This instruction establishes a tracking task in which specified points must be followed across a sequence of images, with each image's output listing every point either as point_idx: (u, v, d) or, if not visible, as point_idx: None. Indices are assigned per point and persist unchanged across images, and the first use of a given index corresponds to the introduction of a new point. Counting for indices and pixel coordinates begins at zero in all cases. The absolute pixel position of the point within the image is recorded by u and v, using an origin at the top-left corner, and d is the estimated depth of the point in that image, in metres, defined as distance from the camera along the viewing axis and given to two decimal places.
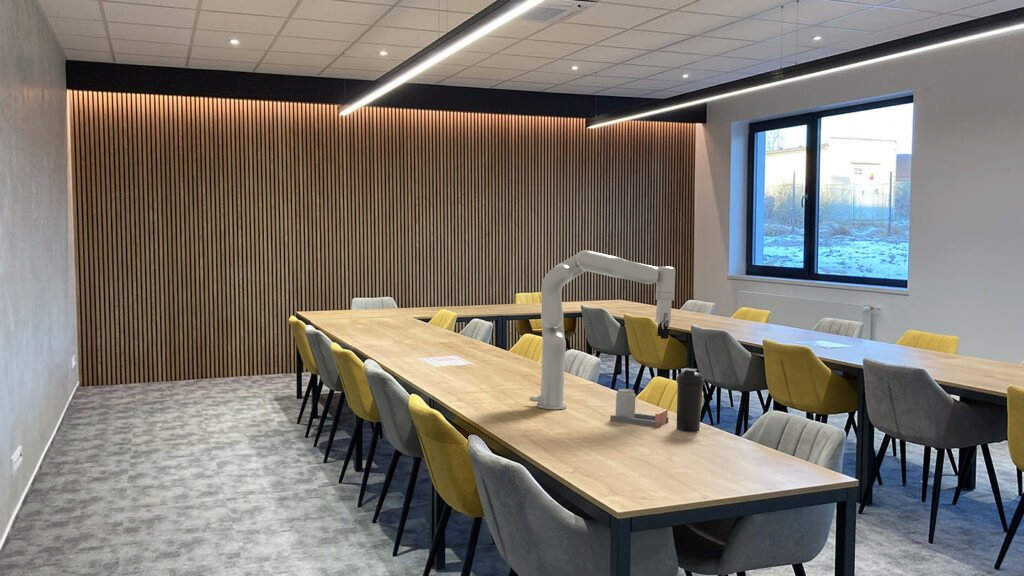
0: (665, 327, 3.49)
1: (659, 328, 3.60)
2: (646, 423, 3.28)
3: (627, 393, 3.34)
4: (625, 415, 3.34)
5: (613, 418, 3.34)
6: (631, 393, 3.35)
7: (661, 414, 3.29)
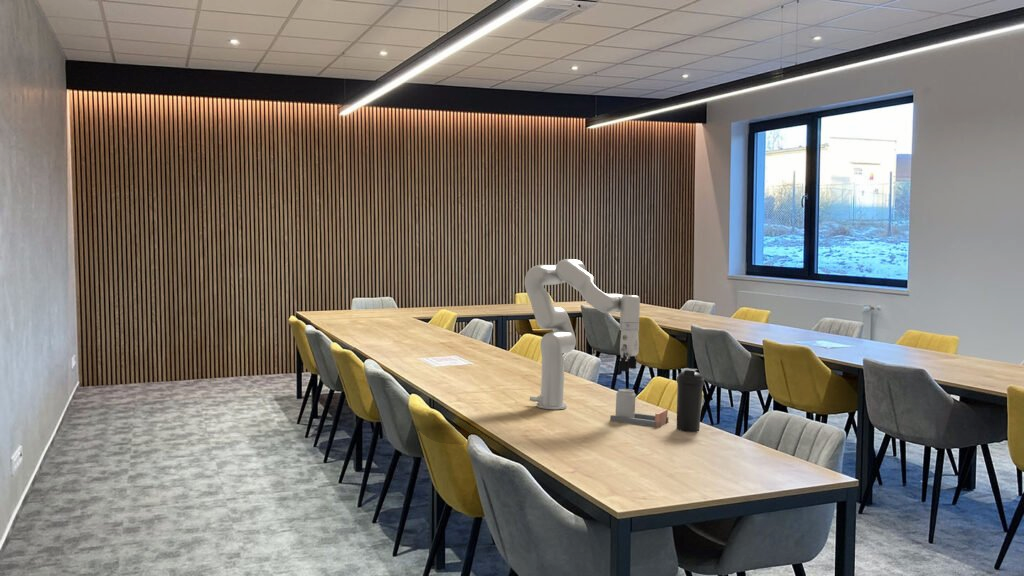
0: None
1: None
2: (646, 423, 3.28)
3: (627, 393, 3.34)
4: (625, 415, 3.34)
5: (613, 418, 3.34)
6: (631, 393, 3.35)
7: (661, 414, 3.29)
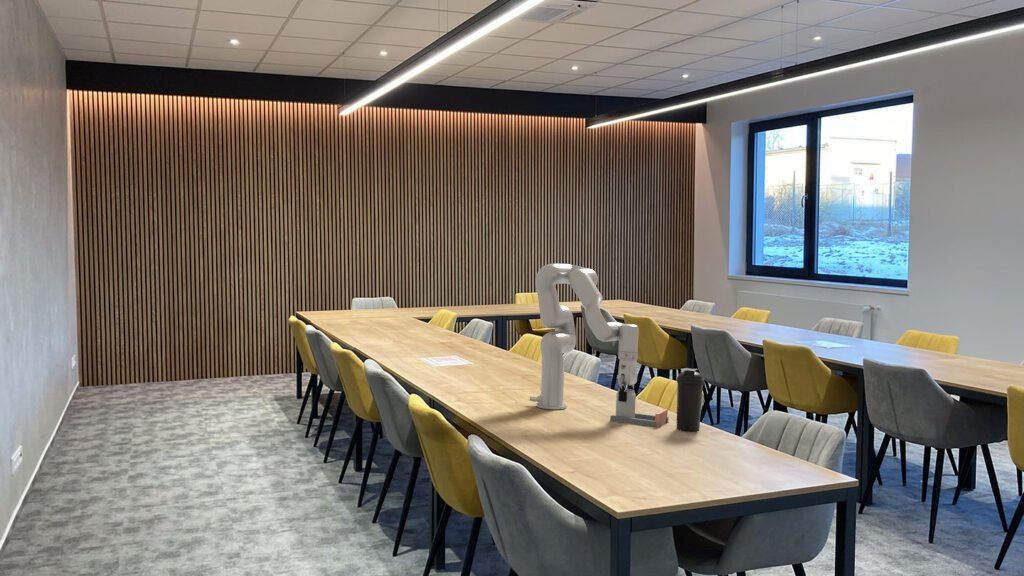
0: None
1: None
2: (646, 423, 3.28)
3: (627, 393, 3.34)
4: (625, 415, 3.34)
5: (613, 418, 3.34)
6: (631, 393, 3.35)
7: (661, 414, 3.29)
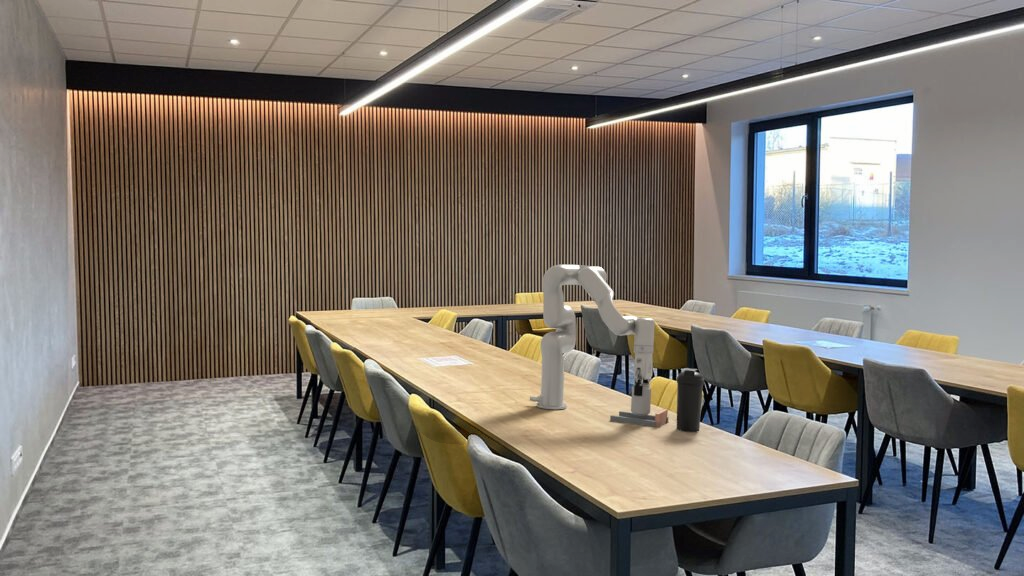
0: None
1: None
2: (646, 423, 3.28)
3: (643, 387, 3.32)
4: (641, 409, 3.31)
5: (613, 418, 3.34)
6: (647, 387, 3.32)
7: (661, 414, 3.29)
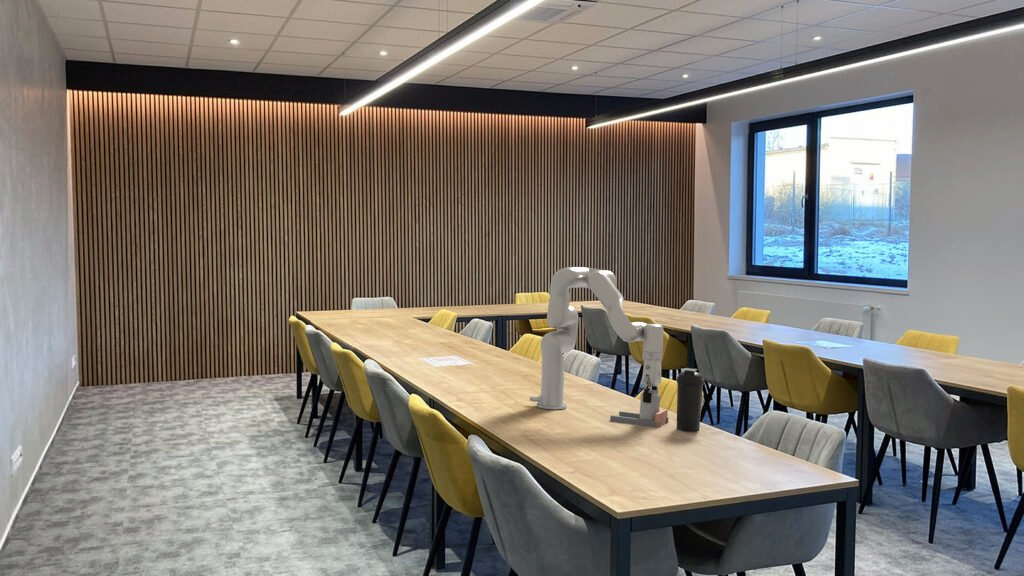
0: None
1: None
2: (646, 423, 3.28)
3: (652, 394, 3.30)
4: (650, 416, 3.30)
5: (613, 418, 3.34)
6: (656, 394, 3.31)
7: (661, 414, 3.29)
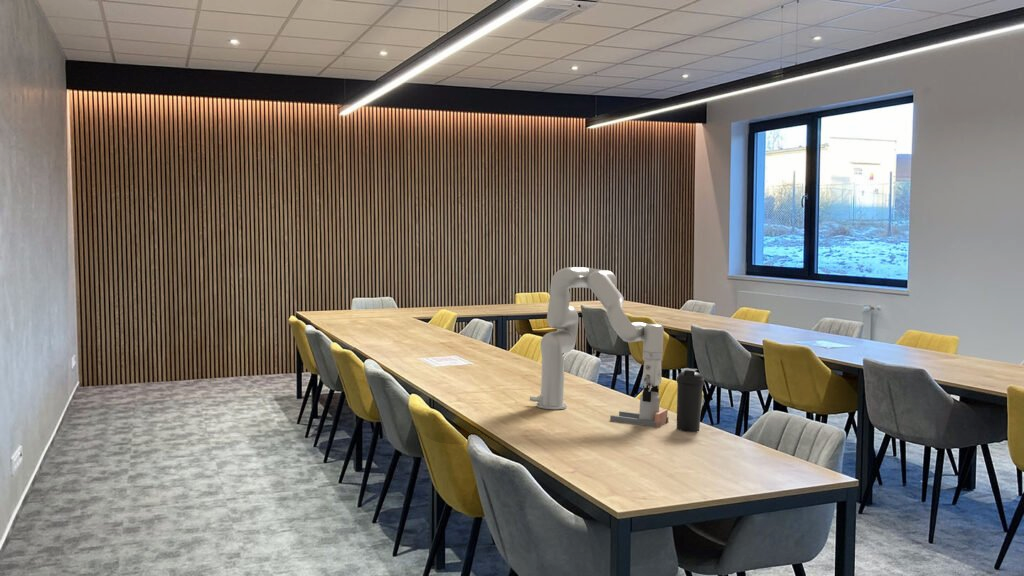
0: None
1: None
2: (646, 423, 3.28)
3: (651, 396, 3.30)
4: (649, 418, 3.30)
5: (613, 418, 3.34)
6: (655, 396, 3.31)
7: (661, 414, 3.29)
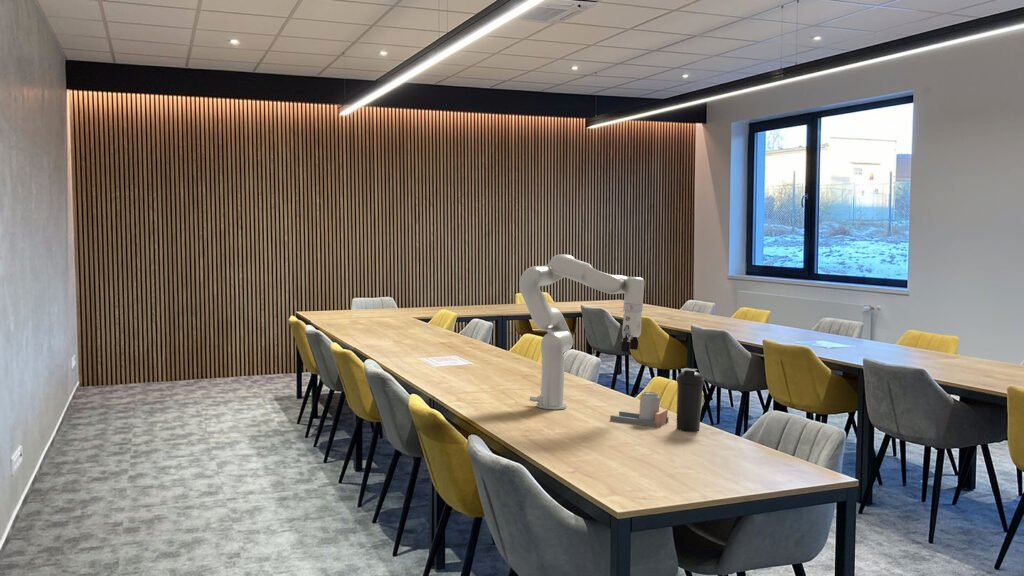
0: None
1: None
2: (646, 423, 3.28)
3: (651, 396, 3.30)
4: (649, 418, 3.30)
5: (613, 418, 3.34)
6: (655, 396, 3.31)
7: (661, 414, 3.29)
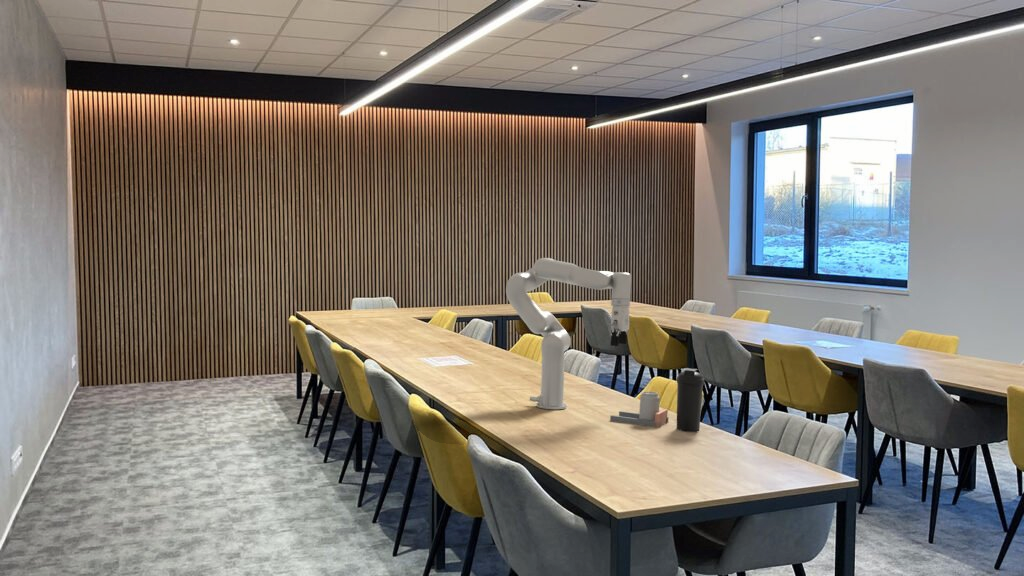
0: None
1: None
2: (646, 423, 3.28)
3: (651, 396, 3.30)
4: (649, 418, 3.30)
5: (613, 418, 3.34)
6: (655, 396, 3.31)
7: (661, 414, 3.29)
